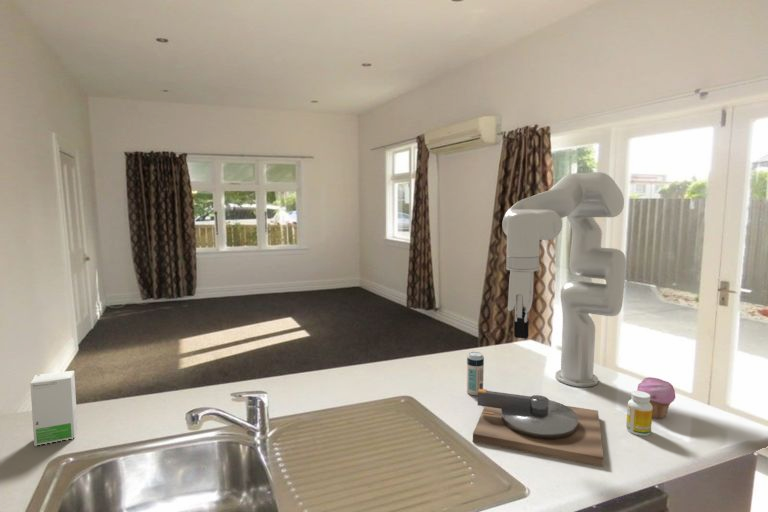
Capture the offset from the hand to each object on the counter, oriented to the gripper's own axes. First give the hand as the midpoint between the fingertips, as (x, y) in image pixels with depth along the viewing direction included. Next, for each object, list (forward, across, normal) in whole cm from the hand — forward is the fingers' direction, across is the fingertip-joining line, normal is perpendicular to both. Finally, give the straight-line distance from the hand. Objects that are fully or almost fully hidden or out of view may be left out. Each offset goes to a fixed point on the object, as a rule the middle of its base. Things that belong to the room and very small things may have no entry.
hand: (521, 336), depth 113 cm
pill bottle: (+24, -16, -15) cm, 33 cm away
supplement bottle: (+24, -9, +27) cm, 38 cm away
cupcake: (+24, -20, +32) cm, 45 cm away
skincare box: (+22, +47, -104) cm, 117 cm away
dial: (+21, 0, +1) cm, 21 cm away
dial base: (+24, 0, +4) cm, 24 cm away
